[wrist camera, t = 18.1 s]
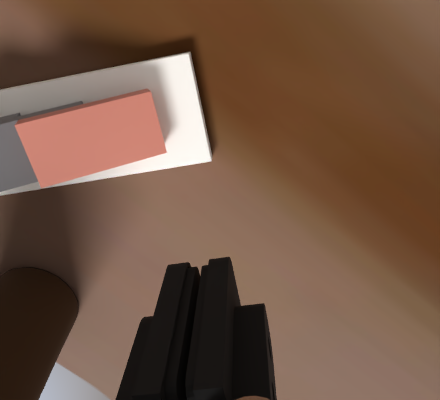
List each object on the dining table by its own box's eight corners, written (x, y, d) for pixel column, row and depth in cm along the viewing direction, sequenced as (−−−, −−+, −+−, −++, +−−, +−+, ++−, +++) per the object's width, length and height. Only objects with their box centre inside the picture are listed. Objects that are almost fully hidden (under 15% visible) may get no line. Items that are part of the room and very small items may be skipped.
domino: (82, 104, 31) (-56, 138, 29) (102, 163, 33) (-25, 199, 31) (82, 100, 33) (-48, 132, 31) (101, 157, 35) (-20, 190, 33)
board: (190, 51, 32) (188, 53, 31) (212, 156, 35) (211, 161, 34) (-107, 110, 35) (-118, 114, 34) (-58, 200, 39) (-66, 206, 38)
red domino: (151, 91, 30) (14, 125, 28) (167, 152, 32) (41, 188, 30) (147, 88, 32) (18, 119, 30) (162, 146, 34) (43, 180, 32)
